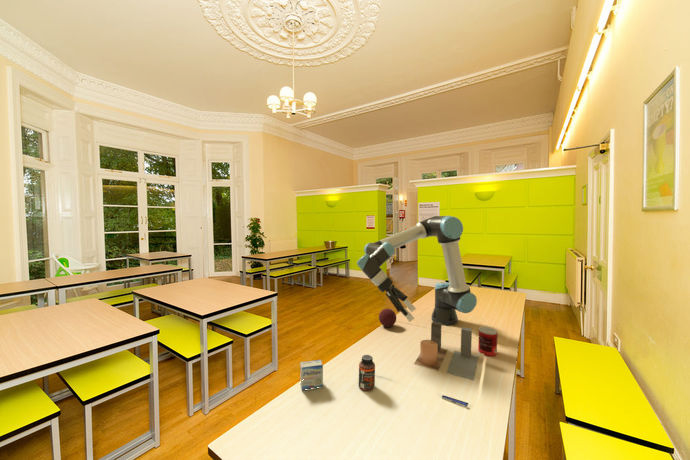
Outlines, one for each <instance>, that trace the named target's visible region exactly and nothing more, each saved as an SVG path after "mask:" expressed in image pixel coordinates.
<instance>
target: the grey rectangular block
mask: <svg viewBox="0 0 690 460" xmlns="http://www.w3.org/2000/svg"><path fill="white" fill-rule="evenodd" d="M460 330H461V331H460V337H461V338H460V351H457V350H454V352H453V355H452V356H451V359H450V361H449V364H448V367H447V370H446V373H445V374H449V375H452V376H456V377H459V378H463V379H467V380H470V381H474V380H475V376H476V372H477V367H478V362H479V356H478V355H475V354H472V341H473V338H472V336H473V335H472V334H473V328H469V327H465V326H464V327H463V326H462V327H461V329H460Z"/></svg>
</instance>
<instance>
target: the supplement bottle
mask: <svg viewBox="0 0 690 460" xmlns="http://www.w3.org/2000/svg"><path fill="white" fill-rule="evenodd" d="M373 359H374V357H373V356H372V355H370V354H364V355H362V356H361V360H360V361H359V364H358V388H360V390H362V391H364V392H370V391H373V390H375V389H374V388H375V381H376V364H375V362H374V361H373Z"/></svg>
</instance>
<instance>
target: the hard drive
mask: <svg viewBox="0 0 690 460" xmlns="http://www.w3.org/2000/svg"><path fill="white" fill-rule="evenodd" d="M441 399H442V400H443V401H447V402H450V403H452V404H455V405H457V406H460V407H463V408H466V409H467V408H468V405H469V402H466V401H463V400H460V399H457V398H453V397H450V396H447V395H443V394H442V396H441Z"/></svg>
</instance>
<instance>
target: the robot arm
mask: <svg viewBox="0 0 690 460" xmlns="http://www.w3.org/2000/svg"><path fill="white" fill-rule="evenodd" d="M463 232H464V225H463V223H462V221H461V220H460V219H459V217H456V216H451V215H435V216H430V217H428V218H426V219H423V220H422V221H419V222H417V223H416V224H415V225H414V226H412V227H408V228H407V229H404V230H402V231H399V232H397V233H394V234H392V235H390V236H388V237H385V238H383V239H380V240H377V241H374V242H369V243H367V244H365V245H364V248H363V250H364V251H363V252H364V254H363V256H361V257H360V258H359V259H358V260H357V261H356V265H357V266H358V268H359V269H360V270H361V271H362V272H363V273H364V274H365V276H367V278H368V279H369V280H370V281H371V283H372V284H374V286H377V289H378V290H379V291H380V292H381V293H384V292H386V293H385V296H386V297H387V298H388V299H389V300H390V302H391V304H392V305H393V306H394V308H395V310H396V311H397V312H398V313H399V312H400V313H401V314H402V315H403V317H405V318H406V319H407V321H408V322H410V323H411V322H412V321H413V320H414V319H415V317H414V316H413V314H411V313H413V312H415V310H416V309H417V308H416V306H414V305H413V304H412V302H411V301H410V300H409V299H408V296H407V295H406V294H404V292H402V290H400V289H398V287H396V286H395V285H394V284H393V283H394V282H393V280H392V279H391V278H390V277H389V276H388V275H387V273H386V272H385V271H384V270H383V269H382V268H381V266H382V265H383V264H385V263H386V262H387V261H388V260H389V259H390V258H391V257H392V256H393V255H394V254H396V249H397V248H400V247H402V246H406V245H408V244H410V243H412V242H414V241H417V240H419V239H426V238H429V237H436V238H437V243H438V244H440V245H441V248H442V254H443V258H444V263H445V268H446V273H447V274H446V275H447V278H448V279H447V280H448V282H437V283H435V285H434V286H435V287H434V308H433V311H432V314H431V321H432V322H438V323H442V326H454V325H457V324H458V323H459V317H458V314H457V311H458V312H459V313H463V314H469V313H471V312H472V311H474V310H475V307H476V305H477V303H478V302H477V301H478V299H477V296H476V295H475V294H474V293H472V291H471V286H470V285H469V284H467V282H466V276H465V272H464V266H463V262H462V261H463V260H462V255H461V251H460V245H459V242H460V241H461V236H462V234H463ZM401 301H402V302H401ZM403 304H404V305H405V306H403ZM406 307H407V308H406Z"/></svg>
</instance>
